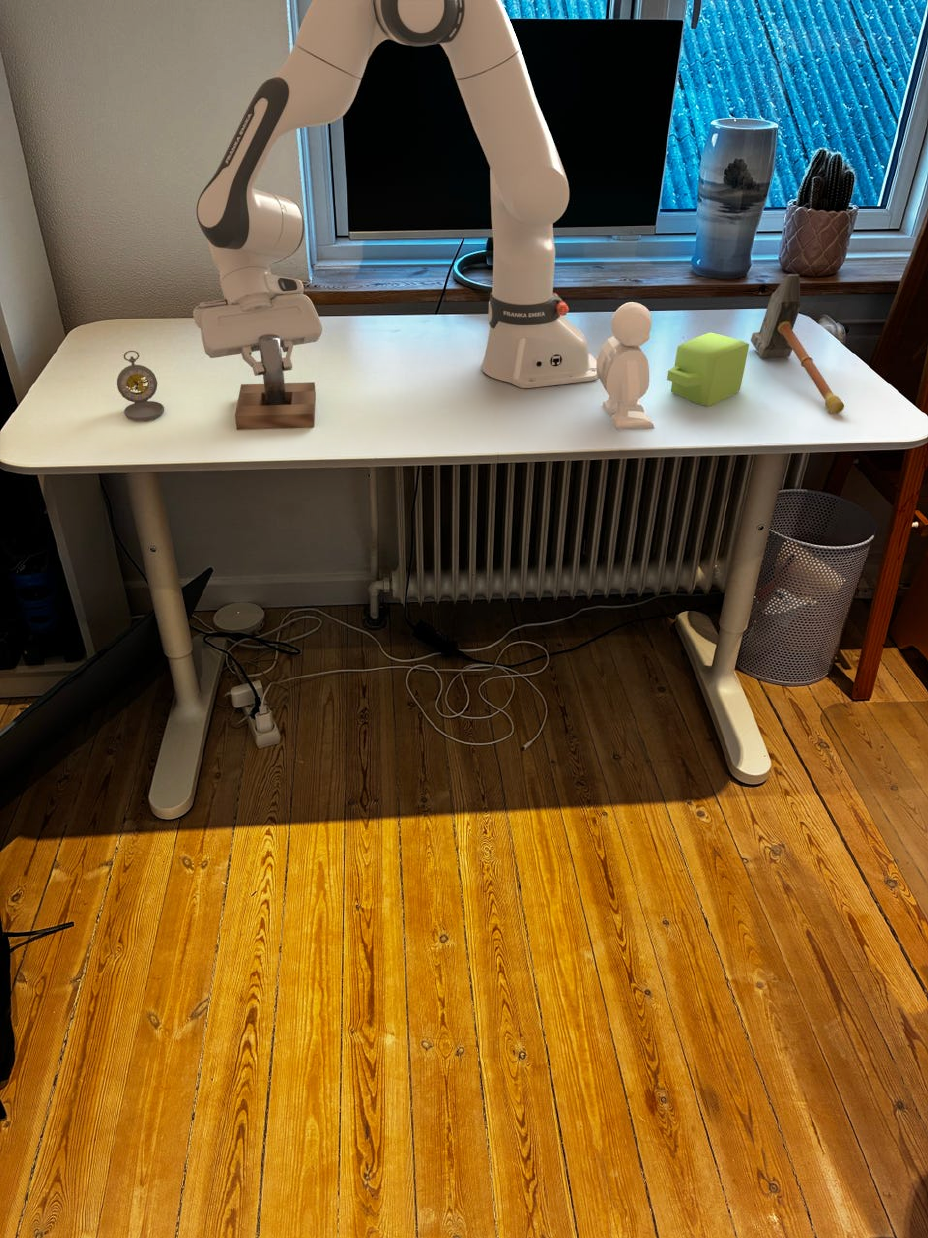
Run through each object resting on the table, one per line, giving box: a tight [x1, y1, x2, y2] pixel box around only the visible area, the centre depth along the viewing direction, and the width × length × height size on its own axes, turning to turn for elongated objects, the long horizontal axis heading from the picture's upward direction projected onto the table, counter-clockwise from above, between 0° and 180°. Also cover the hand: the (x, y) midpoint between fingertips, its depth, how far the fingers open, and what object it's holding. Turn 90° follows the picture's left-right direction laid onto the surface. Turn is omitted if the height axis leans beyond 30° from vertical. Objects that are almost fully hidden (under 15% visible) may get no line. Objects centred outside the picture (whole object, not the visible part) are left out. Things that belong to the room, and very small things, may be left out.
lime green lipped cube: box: [666, 332, 750, 407], centre depth 174 cm, size 18×10×10 cm, turn 134°
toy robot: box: [596, 301, 655, 430], centre depth 161 cm, size 14×9×20 cm, turn 7°
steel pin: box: [259, 334, 287, 405], centre depth 162 cm, size 4×4×12 cm
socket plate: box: [234, 381, 317, 431], centre depth 166 cm, size 13×13×2 cm
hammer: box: [750, 273, 845, 415], centre depth 177 cm, size 6×16×31 cm
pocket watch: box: [116, 350, 165, 422], centre depth 163 cm, size 8×8×10 cm
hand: (274, 371), depth 161 cm, fingers closed on steel pin, 3 cm apart
